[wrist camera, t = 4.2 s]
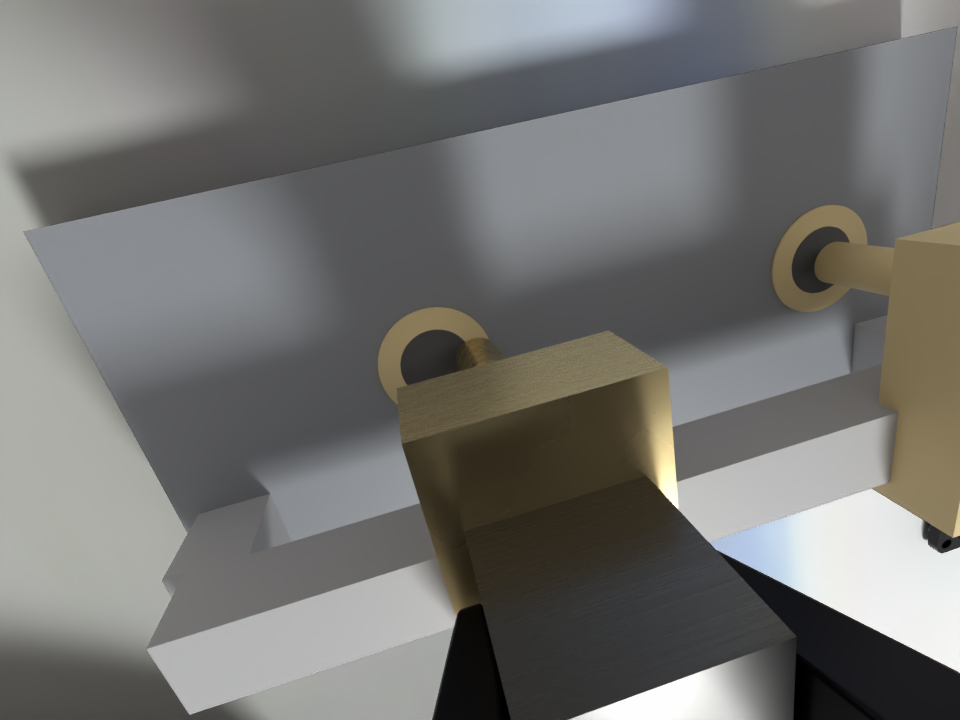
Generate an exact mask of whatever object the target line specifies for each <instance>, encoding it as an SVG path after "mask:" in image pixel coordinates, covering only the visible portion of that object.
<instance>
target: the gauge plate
mask: <svg viewBox="0 0 960 720" xmlns="http://www.w3.org/2000/svg"><path fill="white" fill-rule="evenodd" d="M956 34H957V27H952V28H948V29H943V30H939V31H934V32H930V33H925V34H921V35H916V36H911V37H907V38H902V39H898V40H893V41H889V42H884V43H880V44H875V45H870V46H866V47H861V48H857V49H852V50H848V51H843V52H839V53H834V54H829V55H825V56H820V57H816V58H811V59H807V60H802V61H798V62H793V63H789V64H784V65H779V66H775V67H770V68H766V69H761V70H757V71H752V72H748V73H743V74H738V75H734V76H729V77H725V78H720V79H716V80H711V81H707V82H702V83H697V84H693V85H688V86H684V87H679V88H675V89H670V90H666V91H661V92H656V93H652V94H647V95H643V96H638V97H634V98H629V99H625V100H620V101H616V102H611V103H606V104H602V105H597V106H593V107H588V108H584V109H579V110H575V111H570V112H565V113H561V114H556V115H552V116H547V117H543V118H538V119H534V120H529V121H524V122H520V123H515V124H511V125H506V126H502V127H497V128H493V129H488V130H484V131H479V132H474V133H470V134H465V135H461V136H456V137H452V138H447V139H443V140H438V141H433V142H429V143H424V144H420V145H415V146H411V147H406V148H402V149H397V150H392V151H388V152H383V153H379V154H374V155H370V156H365V157H361V158H356V159H352V160H347V161H342V162H338V163H333V164H329V165H324V166H320V167H315V168H311V169H306V170H301V171H297V172H292V173H288V174H283V175H279V176H274V177H270V178H265V179H260V180H256V181H251V182H247V183H242V184H238V185H233V186H229V187H224V188H220V189H215V190H210V191H206V192H201V193H197V194H192V195H188V196H183V197H179V198H174V199H169V200H165V201H160V202H156V203H151V204H147V205H142V206H138V207H133V208H128V209H124V210H119V211H115V212H110V213H106V214H101V215H97V216H92V217H87V218H83V219H78V220H74V221H69V222H65V223H60V224H56V225H51V226H47V227H42V228H37V229H33V230H28V231H24V234H25V236H26V238H27V240H28V242H29V243H30V245H31V247H32V249H33V251H34V253H35V254H36V256H37V258H38V260H39V262H40V264H41V265H42V267H43V269H44V271H45V273H46V275H47V276H48V278H49V280H50V282H51V284H52V286H53V287H54V289H55V291H56V293H57V295H58V297H59V298H60V300H61V302H62V304H63V306H64V308H65V309H66V311H67V313H68V315H69V317H70V319H71V320H72V322H73V324H74V326H75V328H76V330H77V331H78V333H79V335H80V337H81V339H82V340H83V342H84V344H85V346H86V348H87V350H88V351H89V353H90V355H91V357H92V359H93V361H94V362H95V364H96V366H97V368H98V370H99V372H100V373H101V375H102V377H103V379H104V381H105V383H106V384H107V386H108V388H109V390H110V392H111V394H112V395H113V397H114V399H115V401H116V403H117V405H118V406H119V408H120V410H121V412H122V414H123V416H124V417H125V419H126V421H127V423H128V425H129V427H130V428H131V430H132V432H133V434H134V436H135V438H136V439H137V441H138V443H139V445H140V447H141V449H142V450H143V452H144V454H145V456H146V458H147V460H148V461H149V463H150V465H151V467H152V469H153V471H154V472H155V474H156V476H157V478H158V480H159V482H160V483H161V485H162V487H163V489H164V491H165V493H166V494H167V496H168V498H169V500H170V502H171V504H172V505H173V507H174V509H175V511H176V513H177V515H178V516H179V518H180V520H181V522H182V524H183V526H184V527H185V529H186V531H187V533H188V534H187V536H186V538H185V540H184V542H183V543H182V545H181V547H180V549H179V551H178V552H177V554H176V556H175V558H174V560H173V562H172V563H171V565H170V567H169V569H168V571H167V572H166V574H165V576H164V578H163V580H162V582H163V584H164V585H165V587H166V589H167V590H168V592H169V594H170V595H171V597H172V599H171V601H170V603H169V605H168V607H167V609H166V611H165V613H164V615H163V617H162V619H161V621H160V623H159V625H158V627H157V629H156V631H155V633H154V635H153V637H152V639H151V641H150V643H149V645H148V647H147V649H146V650H147V651H148V653H149V654H150V656H151V657H152V659H153V660H154V662H155V663H156V665H157V666H158V668H159V669H160V671H161V672H162V674H163V675H164V677H165V678H166V680H167V681H168V683H169V685H170V686H171V688H172V689H173V691H174V692H175V694H176V695H177V697H178V698H179V700H180V701H181V703H182V704H183V706H184V707H185V709H186V710H187V712H188V713H189V715H191V714H194V713H197V712H200V711H203V710H206V709H209V708H212V707H215V706H218V705H221V704H224V703H227V702H230V701H233V700H236V699H239V698H242V697H245V696H248V695H251V694H254V693H257V692H260V691H263V690H266V689H269V688H272V687H275V686H278V685H281V684H284V683H287V682H290V681H293V680H296V679H299V678H302V677H305V676H308V675H311V674H314V673H317V672H320V671H323V670H326V669H329V668H332V667H335V666H338V665H341V664H344V663H347V662H350V661H353V660H356V659H359V658H362V657H365V656H368V655H371V654H374V653H377V652H380V651H383V650H386V649H389V648H392V647H395V646H398V645H401V644H404V643H407V642H410V641H413V640H416V639H419V638H422V637H425V636H428V635H431V634H434V633H437V632H440V631H443V630H446V629H449V628H452V627H454V624H455V620H456V616H455V613H454V610H453V607H452V603H451V600H450V597H449V594H448V591H447V587H446V584H445V581H444V578H443V575H442V572H441V568H440V565H439V562H438V559H437V556H436V552H435V549H434V546H433V543H432V540H431V536H430V533H429V530H428V527H427V524H426V521H425V517H424V514H423V511H422V508H421V505H420V501H419V498H418V495H417V492H416V489H415V485H414V482H413V479H412V476H411V473H410V470H409V466H408V463H407V460H406V457H405V454H404V450H403V447H402V444H401V434H400V423H399V411H398V400H397V389H396V388H400V387H404V386H407V385H411V384H415V383H418V382H422V381H425V380H429V379H433V378H436V377H440V376H444V375H447V374H451V373H455V372H458V371H459V369H458V367H457V363H456V356H457V353H458V350H459V349H460V347H461V346H462V345H463V344H464V343H465V342H466V341H468V340H470V339H473V338H479V337H480V338H486V339H488V340H490V341H492V342H493V343H494V344H495V345H496V346H497V348H498V349H499V350H500V352H501V353H502V354H503V356H504V357H505V358H509V357H513V356H517V355H520V354H524V353H528V352H531V351H535V350H539V349H542V348H546V347H550V346H553V345H557V344H561V343H564V342H568V341H572V340H575V339H579V338H583V337H586V336H590V335H593V334H597V333H601V332H604V331H608V330H609V331H610V332H612V333H613V334H615V335H617V336H618V337H620V338H621V339H623V340H625V341H626V342H628V343H630V344H631V345H633V346H634V347H636V348H638V349H639V350H641V351H642V352H644V353H646V354H647V355H649V356H651V357H652V358H654V359H655V360H657V361H659V362H660V363H662V364H663V365H665V366H667V367H668V373H669V387H670V401H671V414H672V428H673V442H674V455H675V469H676V483H677V496H678V510H679V511H680V512H681V513H682V514H683V515H684V516H685V517H686V518H687V519H688V521H689V522H690V523H691V524H692V525H693V526H694V527H695V528H696V529H697V530H698V531H699V532H700V533H701V534H702V536H703V537H704V538H705V539H706V540H707V541H708V542H711V541H714V540H717V539H720V538H723V537H726V536H729V535H732V534H735V533H738V532H741V531H744V530H747V529H750V528H754V527H757V526H760V525H763V524H766V523H769V522H772V521H775V520H778V519H781V518H784V517H787V516H790V515H793V514H796V513H799V512H802V511H805V510H808V509H811V508H814V507H817V506H820V505H823V504H826V503H829V502H832V501H835V500H838V499H841V498H844V497H847V496H850V495H853V494H856V493H859V492H862V491H865V490H868V489H871V488H872V489H873V490H875V491H877V492H878V493H880V494H882V495H883V496H885V497H887V498H888V499H890V500H891V501H893V502H895V503H896V504H898V505H900V506H901V507H903V508H905V509H906V510H908V511H910V512H911V513H913V514H914V515H916V516H918V517H919V518H921V519H923V520H924V521H926V522H928V523H929V524H931V525H932V526H934V527H936V528H937V529H939V530H941V531H942V532H944V533H946V534H947V535H949V536H951V537H952V538H954V537H957V536H960V222H956V223H953V224H949V225H945V226H942V227H938V228H934V229H931V226H932V218H933V211H934V203H935V195H936V188H937V180H938V172H939V165H940V157H941V149H942V141H943V134H944V126H945V118H946V111H947V103H948V95H949V88H950V80H951V72H952V65H953V57H954V49H955V42H956Z"/></svg>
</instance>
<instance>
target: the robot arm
mask: <svg viewBox="0 0 960 720" xmlns="http://www.w3.org/2000/svg"><path fill="white" fill-rule="evenodd" d="M928 545H929V546H930V547H932V548H933V549H935V550H936V551H938V552H940V553H944V552H948V551H950V550H953V549H956V548H959V547H960V536H957V537H954V538H952V537H951V536H949V535H947V534H946V533H944V532H942V531H941V530H939V529H937V528H936V527H934V526H932V525H931V527H930V533H929V539H928ZM716 551H717V550H716ZM717 552H718V553H719V554H720V555H721V556H722V557H723V558H724V559H725V560H726V561H727V562H728V563H729V565H730V566H731V567H732V568H733V569H734V570H735V571H736V572H737V573H738V574H739V575H740V576H741V577H742V578H743V580H744V581H745V582H746V583H747V584H748V585H749V586H750V587H751V588H752V589H753V590H754V591H755V592H756V593H757V595H758V596H759V597H760V598H761V599H762V600H763V601H764V602H765V603H766V604H767V605H768V606H769V607H770V608H771V610H772V611H773V612H774V613H775V614H776V615H777V616H778V617H779V618H780V619H781V620H782V621H783V622H784V624H785V625H786V626H787V627H788V628H789V629H790V630H791V631H792V632H793V633H794V634H795V635H796V636H797V646H796V669H795V692H794V715H793V720H960V673H959V672H957V671H955V670H953V669H951V668H949V667H947V666H945V665H943V664H941V663H939V662H937V661H936V660H934V659H932V658H930V657H928V656H926V655H924V654H922V653H920V652H918V651H916V650H914V649H912V648H910V647H908V646H906V645H904V644H902V643H900V642H898V641H896V640H894V639H892V638H890V637H888V636H886V635H884V634H882V633H880V632H878V631H876V630H874V629H872V628H870V627H868V626H866V625H864V624H862V623H860V622H858V621H856V620H854V619H852V618H850V617H848V616H846V615H844V614H842V613H840V612H838V611H836V610H834V609H832V608H830V607H828V606H826V605H825V604H823V603H821V602H819V601H817V600H815V599H813V598H811V597H809V596H807V595H805V594H803V593H801V592H799V591H797V590H795V589H793V588H791V587H789V586H787V585H785V584H783V583H781V582H779V581H777V580H775V579H773V578H771V577H769V576H767V575H765V574H763V573H761V572H759V571H757V570H755V569H753V568H751V567H749V566H747V565H745V564H743V563H741V562H739V561H737V560H735V559H733V558H731V557H729V556H727V555H725V554H723V553H721V552H719V551H717ZM432 720H511V718H510V714H509V710H508V706H507V702H506V698H505V694H504V690H503V686H502V682H501V678H500V674H499V670H498V666H497V662H496V658H495V654H494V650H493V646H492V642H491V638H490V634H489V630H488V626H487V622H486V618H485V614H484V610H483V606H482V604H481V603H478V604H475V605H472V606H469V607H466V608H463V609H461V610H459V612H458V613H457V616H456V620H455V624H454V629H453V633H452V637H451V642H450V646H449V650H448V654H447V659H446V663H445V667H444V671H443V676H442V680H441V684H440V688H439V693H438V697H437V701H436V706H435V710H434V714H433V718H432Z"/></svg>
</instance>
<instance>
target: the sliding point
mask: <svg viewBox="0 0 960 720" xmlns="http://www.w3.org/2000/svg"><path fill="white" fill-rule="evenodd" d="M456 363H457V367H458V369H459V371H458V372H455V373H451V374H447V375H444V376H440V377H436V378H433V379H429V380H425V381H422V382H418V383H415V384H411V385H407V386H404V387H400V388H396V389H397V400H398V411H399V423H400V434H401V444H402V447H403V450H404V454H405V457H406V460H407V463H408V466H409V470H410V473H411V476H412V479H413V482H414V485H415V489H416V492H417V495H418V498H419V501H420V505H421V508H422V511H423V514H424V517H425V521H426V524H427V527H428V530H429V533H430V536H431V540H432V543H433V546H434V549H435V552H436V556H437V559H438V562H439V565H440V568H441V572H442V575H443V578H444V581H445V584H446V587H447V591H448V594H449V597H450V600H451V603H452V607H453V610H454V613H455V616H457V613H458V612H459V610H461V609H463V608H466V607H469V606H472V605H475V604H478V603H481V604H482V606H483V610H484V614H485V618H486V622H487V626H488V630H489V634H490V638H491V642H492V646H493V650H494V654H495V658H496V662H497V666H498V670H499V674H500V678H501V682H502V686H503V690H504V694H505V698H506V702H507V706H508V710H509V714H510V718H511V720H793V715H794V692H795V669H796V646H797V636H796V635H795V634H794V633H793V632H792V631H791V630H790V629H789V628H788V627H787V626H786V625H785V624H784V622H783V621H782V620H781V619H780V618H779V617H778V616H777V615H776V614H775V613H774V612H773V611H772V610H771V608H770V607H769V606H768V605H767V604H766V603H765V602H764V601H763V600H762V599H761V598H760V597H759V596H758V595H757V593H756V592H755V591H754V590H753V589H752V588H751V587H750V586H749V585H748V584H747V583H746V582H745V581H744V580H743V578H742V577H741V576H740V575H739V574H738V573H737V572H736V571H735V570H734V569H733V568H732V567H731V566H730V565H729V563H728V562H727V561H726V560H725V559H724V558H723V557H722V556H721V555H720V554H719V553H718V552H717V551H716V549H715V548H714V547H713V546H712V545H711V544H710V543H709V542H708V541H707V540H706V539H705V538H704V537H703V536H702V534H701V533H700V532H699V531H698V530H697V529H696V528H695V527H694V526H693V525H692V524H691V523H690V522H689V521H688V519H687V518H686V517H685V516H684V515H683V514H682V513H681V512H680V511H679V510H678V496H677V483H676V469H675V455H674V442H673V428H672V414H671V401H670V387H669V373H668V367H667V366H665V365H663V364H662V363H660V362H659V361H657V360H655V359H654V358H652V357H651V356H649V355H647V354H646V353H644V352H642V351H641V350H639V349H638V348H636V347H634V346H633V345H631V344H630V343H628V342H626V341H625V340H623V339H621V338H620V337H618V336H617V335H615V334H613V333H612V332H610V331H609V330H608V331H604V332H601V333H597V334H593V335H590V336H586V337H583V338H579V339H575V340H572V341H568V342H564V343H561V344H557V345H553V346H550V347H546V348H542V349H539V350H535V351H531V352H528V353H524V354H520V355H517V356H513V357H509V358H505V357H504V356H503V354H502V353H501V352H500V350H499V349H498V348H497V346H496V345H495V344H494V343H493V342H492V341H490V340H488V339H486V338H480V337H479V338H473V339H470V340H468V341H466V342H465V343H464V344H463V345H462V346H461V347H460V349H459V350H458V353H457V356H456Z"/></svg>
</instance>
